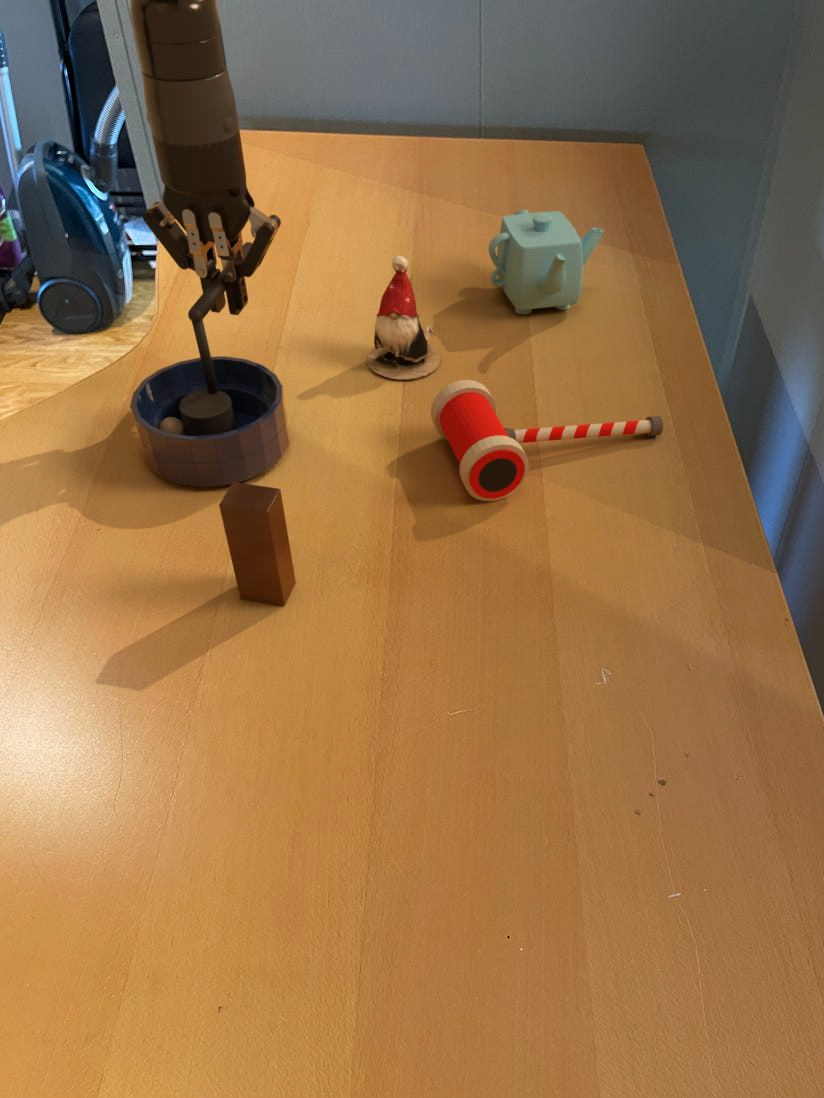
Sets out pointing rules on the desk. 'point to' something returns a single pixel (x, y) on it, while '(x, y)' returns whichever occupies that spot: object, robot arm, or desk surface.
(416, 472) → the desk surface
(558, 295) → the teapot
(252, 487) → the upright brown pillar
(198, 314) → the ladle
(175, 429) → the bead
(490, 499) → the toy hammer
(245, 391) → the bowl
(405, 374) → the figurine
